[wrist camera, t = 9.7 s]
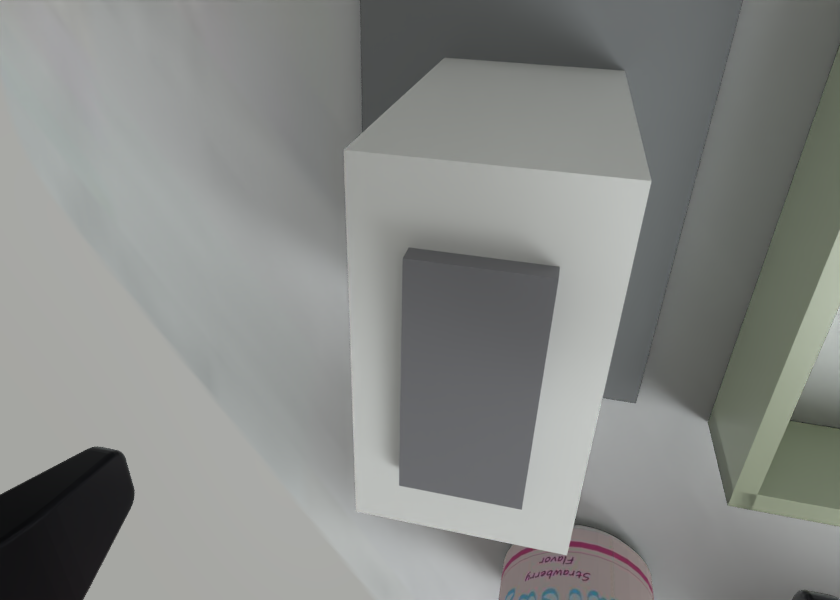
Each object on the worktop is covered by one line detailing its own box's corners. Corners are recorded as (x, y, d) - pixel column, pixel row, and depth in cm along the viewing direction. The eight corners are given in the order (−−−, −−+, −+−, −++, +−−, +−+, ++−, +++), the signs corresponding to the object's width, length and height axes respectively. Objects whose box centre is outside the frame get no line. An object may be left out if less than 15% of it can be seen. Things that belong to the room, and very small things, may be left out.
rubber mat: (634, 395, 21) (635, 403, 20) (369, 352, 22) (365, 359, 22) (743, -15, 14) (746, -14, 14) (364, -34, 16) (359, -33, 16)
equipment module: (574, 340, 20) (566, 571, 13) (432, 319, 20) (349, 526, 13) (624, 70, 16) (653, 191, 8) (444, 57, 16) (334, 158, 9)
